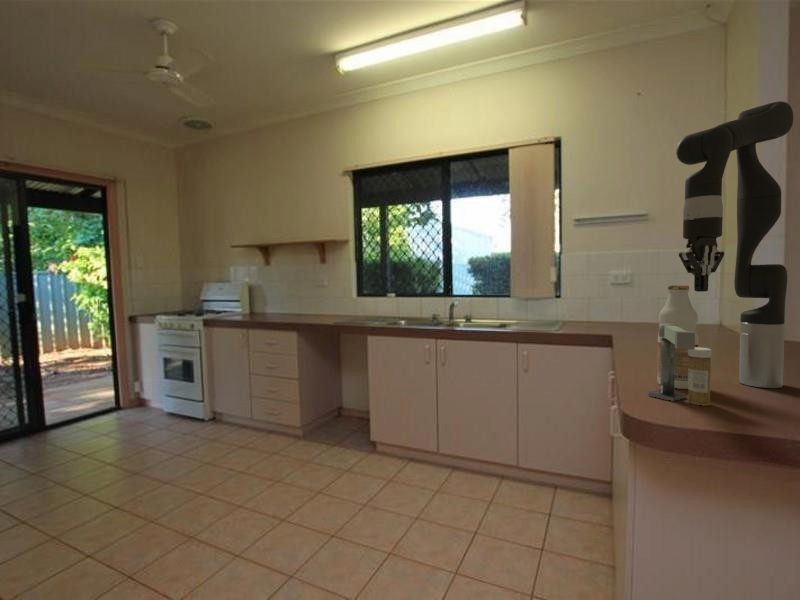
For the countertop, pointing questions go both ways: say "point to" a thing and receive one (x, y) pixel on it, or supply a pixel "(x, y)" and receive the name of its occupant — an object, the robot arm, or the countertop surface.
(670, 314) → the fruit juice
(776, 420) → the countertop surface
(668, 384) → the post
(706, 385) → the sprinkles bottle
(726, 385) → the countertop surface
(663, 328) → the swing bar
